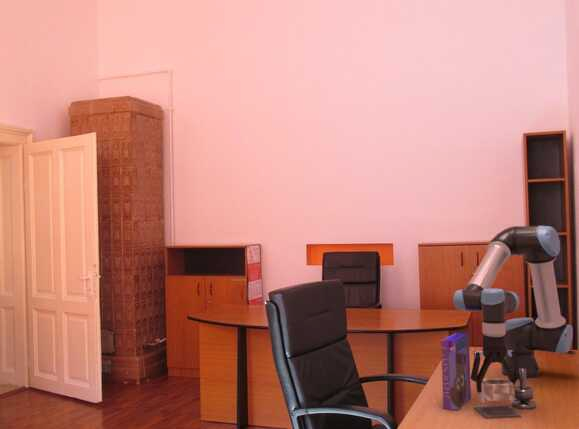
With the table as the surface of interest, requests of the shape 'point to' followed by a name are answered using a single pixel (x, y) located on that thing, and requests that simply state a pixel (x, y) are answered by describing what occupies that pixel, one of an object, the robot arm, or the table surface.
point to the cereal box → (455, 371)
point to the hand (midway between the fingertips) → (496, 401)
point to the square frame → (498, 389)
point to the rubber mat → (497, 411)
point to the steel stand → (523, 393)
